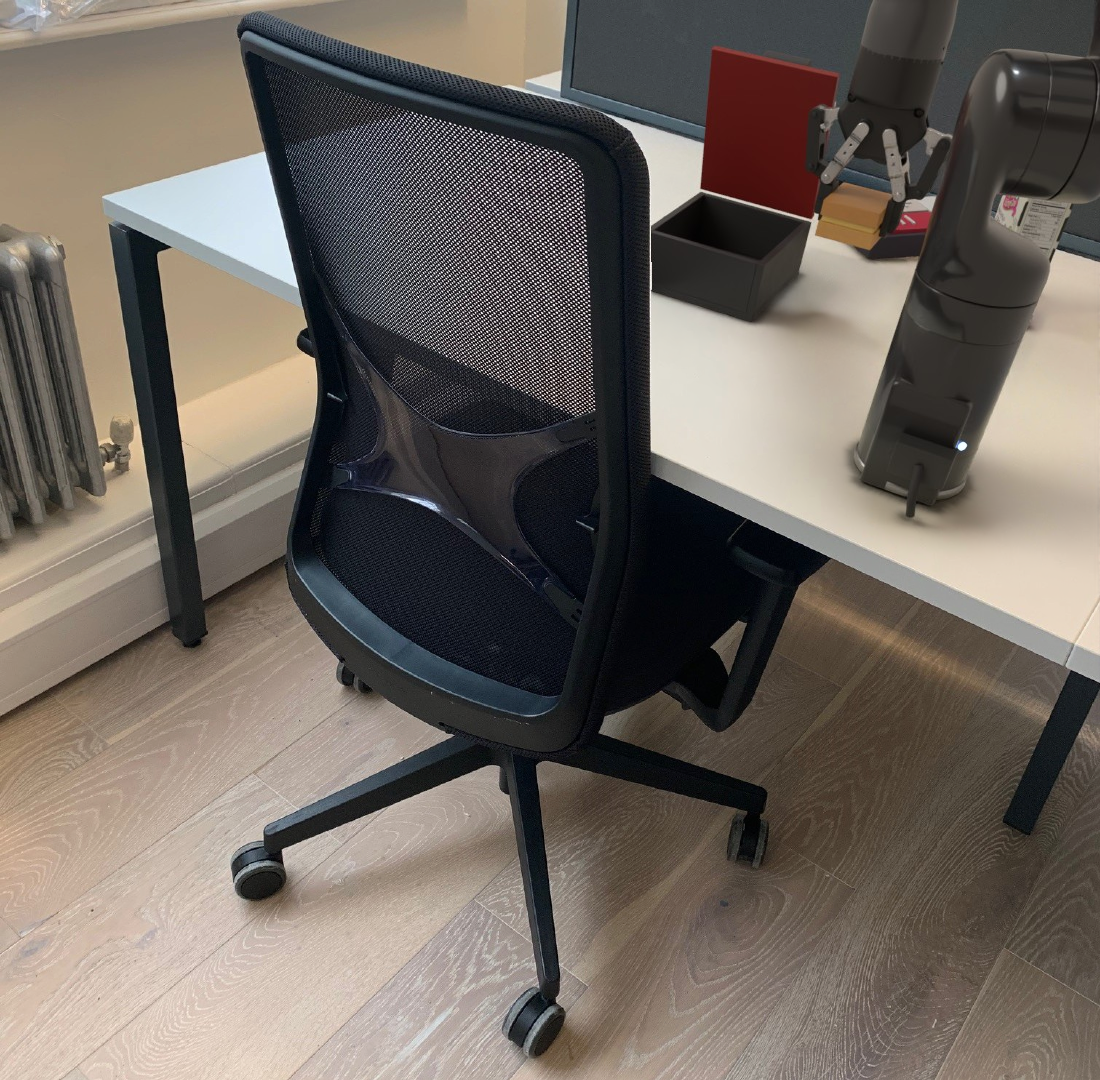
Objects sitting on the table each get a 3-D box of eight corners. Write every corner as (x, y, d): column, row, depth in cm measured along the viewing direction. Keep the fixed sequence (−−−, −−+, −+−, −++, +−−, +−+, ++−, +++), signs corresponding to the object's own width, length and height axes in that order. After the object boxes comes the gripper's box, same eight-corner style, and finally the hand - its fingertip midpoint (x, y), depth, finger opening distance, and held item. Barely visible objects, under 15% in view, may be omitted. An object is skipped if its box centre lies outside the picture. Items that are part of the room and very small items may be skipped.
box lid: (837, 77, 104) (855, 53, 107) (711, 48, 108) (732, 26, 111) (811, 219, 117) (828, 195, 119) (699, 189, 121) (718, 166, 124)
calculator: (834, 197, 132) (939, 191, 135) (827, 229, 135) (930, 223, 138) (875, 231, 124) (987, 224, 127) (867, 265, 127) (976, 257, 130)
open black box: (751, 322, 110) (764, 265, 106) (635, 285, 114) (644, 230, 110) (798, 274, 121) (811, 221, 117) (691, 243, 125) (700, 191, 122)
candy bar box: (968, 280, 124) (1019, 140, 114) (1011, 287, 124) (1066, 147, 114) (980, 320, 115) (1036, 172, 105) (1026, 328, 115) (1087, 180, 105)
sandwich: (869, 250, 101) (880, 214, 99) (814, 235, 103) (823, 199, 101) (887, 230, 106) (897, 195, 104) (834, 216, 108) (843, 182, 106)
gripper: (815, 36, 94) (773, 219, 104) (976, 69, 89) (915, 257, 99) (838, 25, 100) (796, 200, 110) (991, 55, 95) (932, 235, 105)
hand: (853, 226), depth 104 cm, fingers closed on sandwich, 5 cm apart
